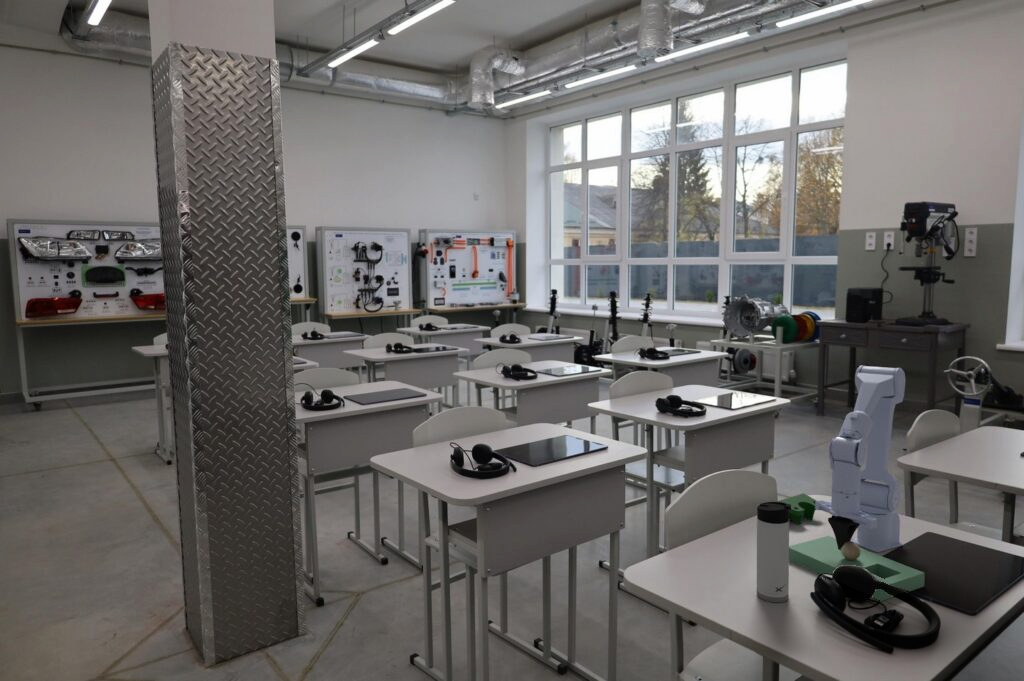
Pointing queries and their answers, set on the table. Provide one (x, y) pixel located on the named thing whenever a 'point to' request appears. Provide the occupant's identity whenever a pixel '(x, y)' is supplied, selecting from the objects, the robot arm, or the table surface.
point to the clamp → (800, 507)
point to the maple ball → (850, 550)
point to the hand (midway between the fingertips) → (843, 549)
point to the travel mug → (773, 551)
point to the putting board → (827, 558)
